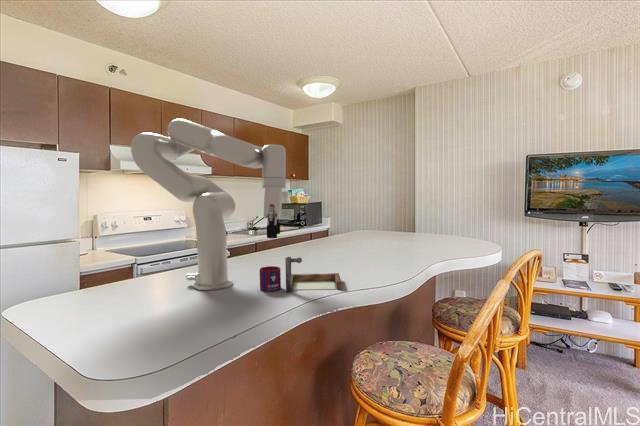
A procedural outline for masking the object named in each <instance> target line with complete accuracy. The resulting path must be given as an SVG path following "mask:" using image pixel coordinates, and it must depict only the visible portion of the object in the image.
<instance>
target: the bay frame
mask: <svg viewBox="0 0 640 426" xmlns="http://www.w3.org/2000/svg"><path fill="white" fill-rule="evenodd" d="M291 278H292V288H293V286H294V282H314V281H334V283H335V288H336V290H338V291H339V290H342V278H341V275H340V273H339V272H337V273H335V272H334V273H333V272H332V273H291Z"/></svg>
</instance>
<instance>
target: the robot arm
mask: <svg viewBox="0 0 640 426" xmlns="http://www.w3.org/2000/svg"><path fill="white" fill-rule="evenodd" d="M167 135H168V136H164V135H162V134H159V133H153V132H141V133H138V134H136V135H135V136H134V137H133V138H132V140H131V145H130V151H131V156H132V158H133V161H134V163H135V165H136V166H137V167H138V168H139V170H141V172H143V173H144V174H145V175H146V176H147V177H149V178H150V179H151V180H153V181H155V183H157V184H158V185H159V186H161V187H162V189H164V190H166V191H167V192H168V193H170V194H171V195H172V196H173V197H175V198H176V199H177V200H179V201H181V202H184V203H193V204H192V213H193V219H194V224H195V231H196V233H195V234H196V249H197V251H196V252H197V272H196V273H187V274H186V275H185V276H186V280H187V281H194V283H193V288H194V289H195V290H199V291H214V290H215V291H216V290H221V289H225V288H228V287H231V286H232V285H233V279H232V278H229V277H228V275H229V274H228V273H229V272H228V247H227V246H228V245H227V244H228V243H227V230H226V226H225V225H226V224H225V220H224V219H227V218H229V217H231V216H233V214H234V213H235V210H236V202H235V199H234V198H233V197H232V196H231V195H230V193H228V192H226V191H225V190H224V189H223V188H221V187H220V186H219V185H217V184H216V183H214V182H213V181H212V180H210V179H209V178H206V177H205V176H202V175H196V174H190V173H188V172H186V171H184V170H183V169H182V168H180V167H179V166H178V165H176V164H175V163H173V162H171V161H174V160H177V159H179V158H181V157H183V156H185V155H187V154H189V153H191V152H193V151H197V152H201V153H203V154H206V155H208V156H211V157H216V158H218V159H220V160H222V161H223V160H224V161H227V162H229V163H232V164H235V165H237V166H240V167H243V168H244V167H245V168H248V169H261V171H262V172H261V173H262V174H261V177H262V183H261V186H262V188H263V189H264V197H263V198H264V199H263V200H264V201H263V219H267V222H266V238H267V239H277V238H278V235H279V234H281V220H280V219H281V216H282V207H283V205H282V204H283V189H286V184H287V183H286V182H287V181H286V179H287V178H286V174H287V171H286V170H287V167H286V166H287V157H286V156H287V154H286V153H287V151H286V147H285V146H284V145H281V144H266V145H264V146H258V145H255V144H252V143H250V142H248V141H245V140H242V139H239V138H236V137H233V136H230V135H227V134H225V133H222V132H220V131H219V130H218V129H217V130H216V129H214V128H212V127H208V126H204V125H203V124H199V123H197V122H193V121H191V120H187V119H185V118H175V119H173V120H171V121H170V122H169V124H168V125H167Z"/></svg>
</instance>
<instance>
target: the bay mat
mask: <svg viewBox="0 0 640 426" xmlns="http://www.w3.org/2000/svg"><path fill="white" fill-rule="evenodd" d="M311 290H312V291H315V290H318V291H320V290H322V291H323V290H325V291H326V290H337V288H336V284H335V281H314V282H294V283H293V287H292V291H311Z"/></svg>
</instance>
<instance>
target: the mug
mask: <svg viewBox="0 0 640 426" xmlns="http://www.w3.org/2000/svg"><path fill="white" fill-rule="evenodd" d="M281 276H282V275H281V267H280V266H275V265H273V266H272V265H271V266H269V265H268V266H262V267H260V268H259V290H260V291H261V292H263V293H274V292H278V291H280V290H281V289H282V282H281V278H282V277H281Z"/></svg>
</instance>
